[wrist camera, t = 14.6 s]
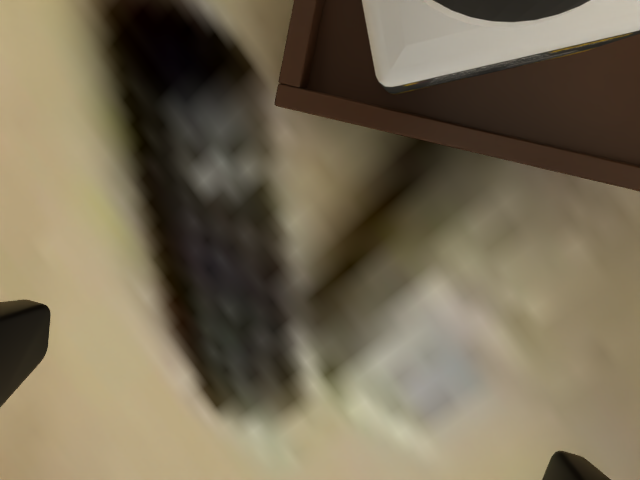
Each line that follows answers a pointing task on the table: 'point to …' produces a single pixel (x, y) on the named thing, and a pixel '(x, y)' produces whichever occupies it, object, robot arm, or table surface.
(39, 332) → the robot arm
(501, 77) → the tray
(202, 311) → the table surface
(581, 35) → the medicine bottle
